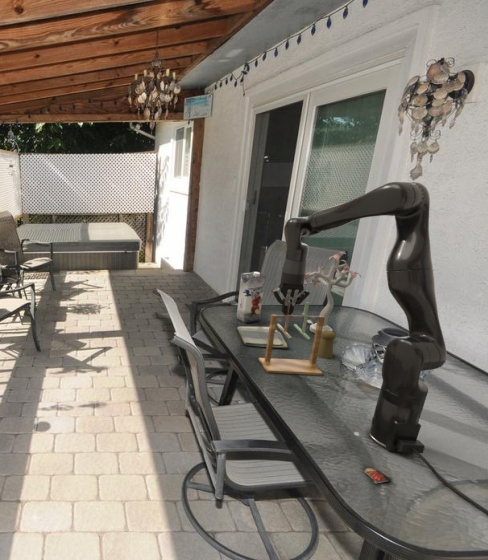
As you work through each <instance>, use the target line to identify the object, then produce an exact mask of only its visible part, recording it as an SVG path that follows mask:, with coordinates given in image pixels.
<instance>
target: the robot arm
mask: <svg viewBox="0 0 488 560" xmlns="http://www.w3.org/2000/svg"><path fill="white" fill-rule="evenodd" d="M430 203H431V201H430V193H429V190H428V188H427V187H426V186H425V185H424V184H423V183H421V182H418V181H390V182H387V183H385V184H382V185H380V186H378V187H376V188H374V189H372V190H370V191H368V192H366V193H364V194H362V195H359V196H358V197H356V198H353V199H350V200H348V201H346V202H343V203H340V204H336V205H334V206H330V207H327V208H324V209H321V210H318V211H315V212H314V213H312V214H311V215H308V216H298V217H291V218H289V219H287V221H286V222H285V224H284V226H283V234H284V235H283V236H284V240H285V247H286V248H285V253H284V254H285V255H284V261H283V264H282V268H281V277H280V283H279V285H278V287H277V288H274V289H271V293H272V294H273V296H274V298H275V299H276V301H277V303H279V304H280V305H281V313H282V315H287V311H288V303H289V302H291V304H290V309H289V315H292V314H294V309H295V306H297V305H301V304H302V303H303V302H304V300H306V298H308V297H309V295H311V292H310V291H309V290H307V289H305V285H304V279H305V275H306V273H307V267H308V257H309V256H308V255H309V250H310V248H309V245H308V244H306V243H305V242H302V238H304V237H310V236H315V235H318V234H321V233H323V232H326V231H330V230H334V229H338V228H341V227H343V226H346V225H349V224H350V223H352V222H355V221H357V220H360V219H364V218H365V219H366V218H372V217H381V216H387V217H394V220H395V229H396V236H395V241H394V242H393V245H392V248H391V250H390V252H389V254H388V257H387V259H386V265H385V271H386V281H387V287H388V290H389V292H390V294H391V296H392V298H393V299H394V300H395V302H396V303H397V304H398V305H399V307H400V308H401V310H402V311H403V313H404V315H405V317H406V320H407V326H408V327H407V328H408V336H400V337H399V336H398V337H395V338H393V339H391V340H389V342H388V343H387V344H386V347H385V349H384V354H383V359H382V365H381V377H382V381H381V386H380V389H379V393H378V398H377V401H376V405H375V408H374V413H373V415H372V419H371V421H370V422H371V423H370V428H369V431H368V437H369V438H370V439H371V441H373V442H374V443H376V444H377V445H378V446H380V447H382V448H384V449H386V451H387V452H392V453H407V454H415V455H416V456H417V457H418V458H419V459H420V460H421V461H422V462H423V463H424V464H425V465H426V466H427V467H428V468H429V470H430V471H431V472H432V474H433V475H434V476H435V477H436V478H437V479H438V480H439V481H441V482H442V484H444V485H445V486H446V487H447V488H449V489H450V490H451V491H452V492H454V493H456V494H457V495H458V496H459V497H461V498H463V499H464V500H465V501H467V502H469V503H470V505H473V506H474V507H475V508H477V509H478V510H480V511H482V512H483V513H484V514H486V515H488V509H487V508H485V507H483V506H482V505H481V504H479V503H477V502H476V501H475V500H473V499H471V498H470V497H469V496H467V495H465V494H464V493H463V492H461V491H460V490H458V489H457V488H456V487H455V486H453V485H451V484H450V483H449V482H448V481H447V480H446V479H445V478H444V477H442V476H441V475H440V473H438V472H437V470H436V469H435V468H434V467H433V465H432V464H431V463H430V462H429V461H428V460H427V459H426V458H425V457H424V456H423V455H422V454H424V450H425V447H426V446H425V444H424V443H422V441H420V440H419V439H418V437H419V435H420V431H421V428H422V425H421V423H420V419H421V416H422V412H423V409H424V406H425V403H426V400H427V397H428V394H429V387H428V385H427V384H426V383H425V382H424V381H422V380H421V379H420V377H421V372H422V371H423V372H424V371H431V370H436V369H439V368H441V367H443V366H444V365H445V363H446V361H447V354H448V353H447V347H446V342H445V338H444V335H443V330H442V326H441V322H440V318H439V313H438V305H437V304H438V303H437V297H436V288H435V275H434V274H435V273H434V266H433V260H432V259H433V258H432V250H431V240H430V208H431V207H430V206H431V204H430ZM280 294H282V296H281V295H280ZM281 297H282V298H281Z"/></svg>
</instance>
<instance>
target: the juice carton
mask: <svg viewBox="0 0 488 560" xmlns="http://www.w3.org/2000/svg"><path fill="white" fill-rule="evenodd" d="M266 278H267V275H266V274H263V273H261V272H259V271H251V272H241V273H240V283H239V292H238V300H237V310H236V319H237V320H239V321H241V322H242V323H245V324H250V323H255V322H259V321H260V318H261V312H262V305H263V297H264V289H265V283H266V282H265V281H266Z"/></svg>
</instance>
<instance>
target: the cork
mask: <svg viewBox="0 0 488 560" xmlns="http://www.w3.org/2000/svg"><path fill="white" fill-rule="evenodd" d="M336 335H337V334H336V333H335V332H334V331H329V330H323V331H322V335H321V340H320V345H319V350H318V355H317V357H321V358H325V359H332V358H333V356H334V340H335V339H336V337H337V336H336Z"/></svg>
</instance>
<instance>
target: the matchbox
mask: <svg viewBox="0 0 488 560" xmlns="http://www.w3.org/2000/svg"><path fill="white" fill-rule="evenodd" d="M363 471H364V473H365V474H367V476H368V477H370V479H372V482H373V483H374V484H376V485H378V483H379V484H381V483H386V482H389V481H391V480H392V478H390V477H389V476H388V475H387V474H385V473H384V472H382V471H380V470H378V469H374V468H372V467H367V468H365V470H363Z"/></svg>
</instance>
